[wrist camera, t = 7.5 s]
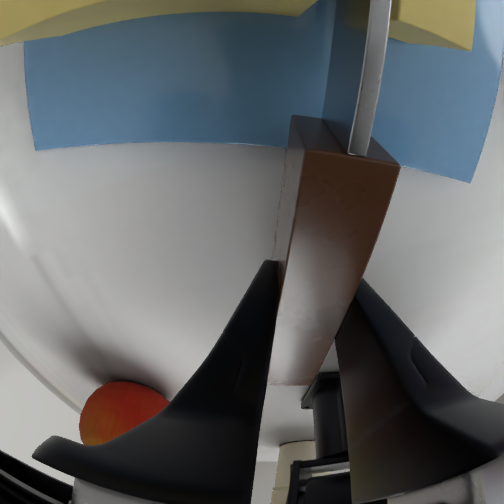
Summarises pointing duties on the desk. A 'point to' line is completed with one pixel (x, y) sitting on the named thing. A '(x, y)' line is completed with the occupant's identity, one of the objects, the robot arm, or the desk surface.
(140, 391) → the fruit
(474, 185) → the desk surface
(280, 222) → the knife
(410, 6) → the block
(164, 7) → the butter block
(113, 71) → the blue cutting board
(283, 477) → the ice cream cone
